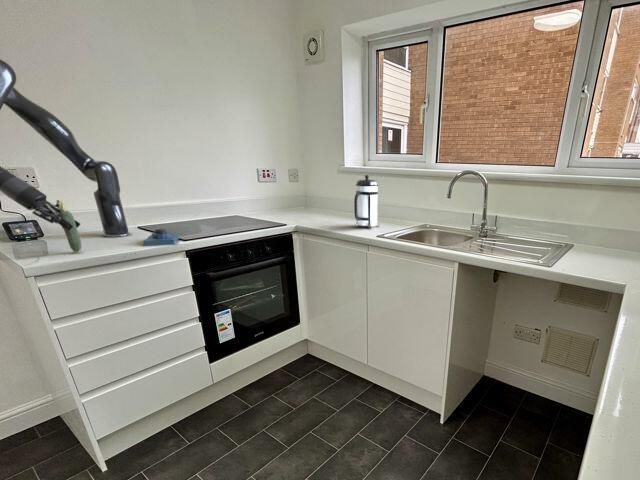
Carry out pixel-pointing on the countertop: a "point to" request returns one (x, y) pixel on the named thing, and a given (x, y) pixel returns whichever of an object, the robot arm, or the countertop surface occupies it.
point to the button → (160, 231)
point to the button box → (161, 239)
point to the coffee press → (366, 202)
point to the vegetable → (73, 233)
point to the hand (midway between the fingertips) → (74, 227)
